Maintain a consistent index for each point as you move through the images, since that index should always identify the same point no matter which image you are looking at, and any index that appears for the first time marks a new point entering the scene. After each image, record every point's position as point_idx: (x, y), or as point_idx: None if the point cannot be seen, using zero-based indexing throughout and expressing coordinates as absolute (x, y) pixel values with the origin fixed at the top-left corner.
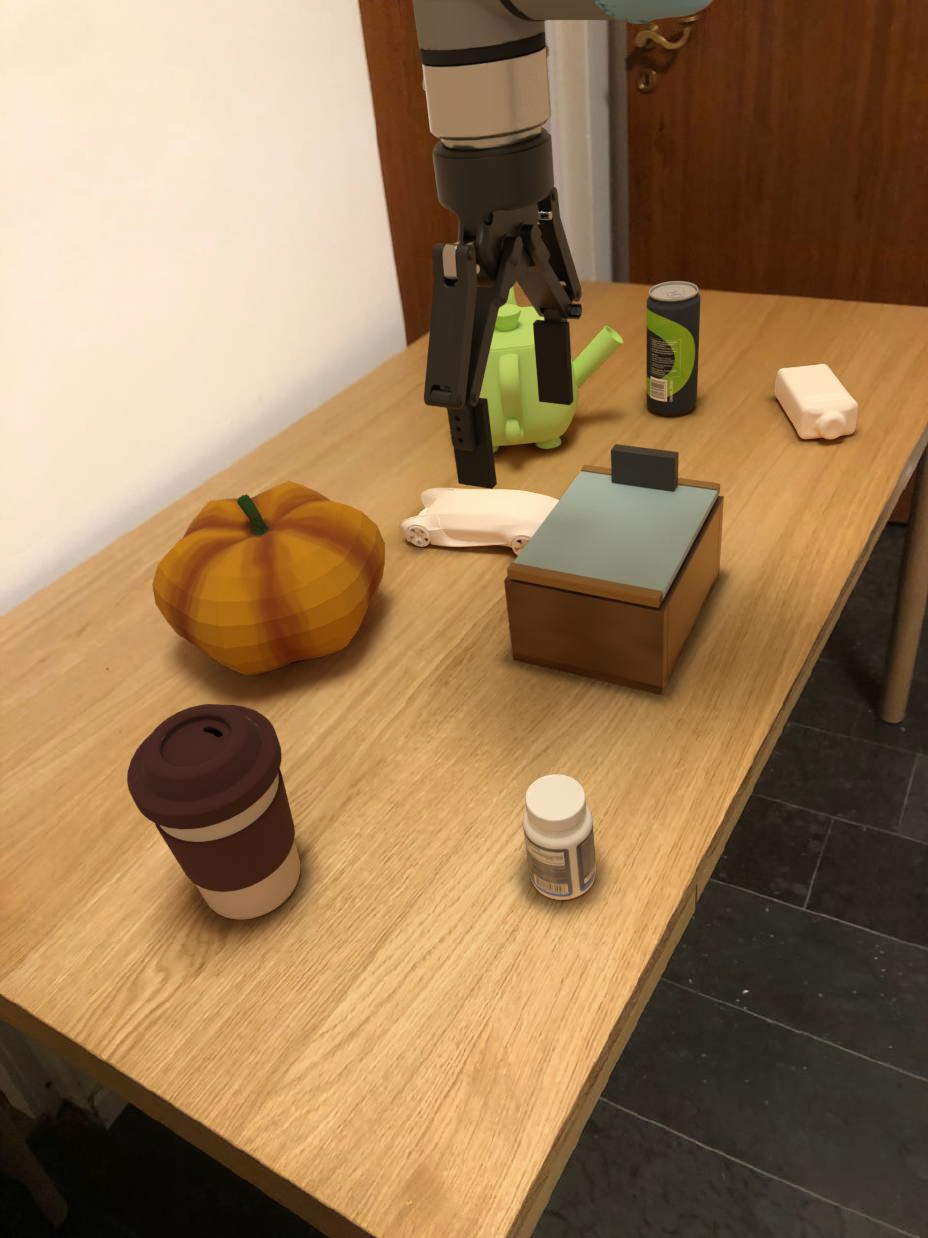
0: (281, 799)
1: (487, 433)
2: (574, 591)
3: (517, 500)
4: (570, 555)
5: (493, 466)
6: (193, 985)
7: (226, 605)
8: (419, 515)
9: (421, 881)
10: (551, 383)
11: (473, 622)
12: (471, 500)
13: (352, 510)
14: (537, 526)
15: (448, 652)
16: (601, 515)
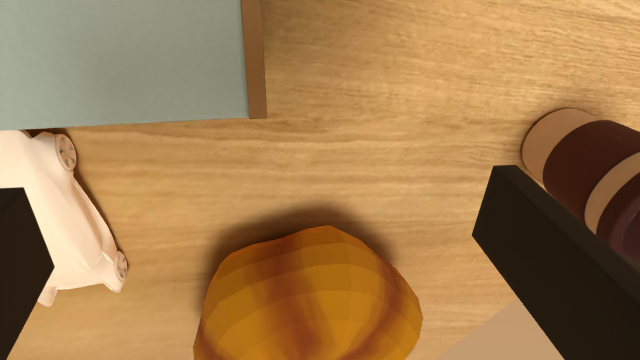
0: (632, 145)
1: (613, 259)
2: None
3: None
4: (190, 41)
5: (529, 192)
6: (631, 124)
7: (416, 329)
8: (76, 286)
9: (548, 16)
10: (13, 278)
11: (216, 142)
12: None
13: (241, 335)
14: (33, 153)
15: (273, 141)
16: (46, 36)
